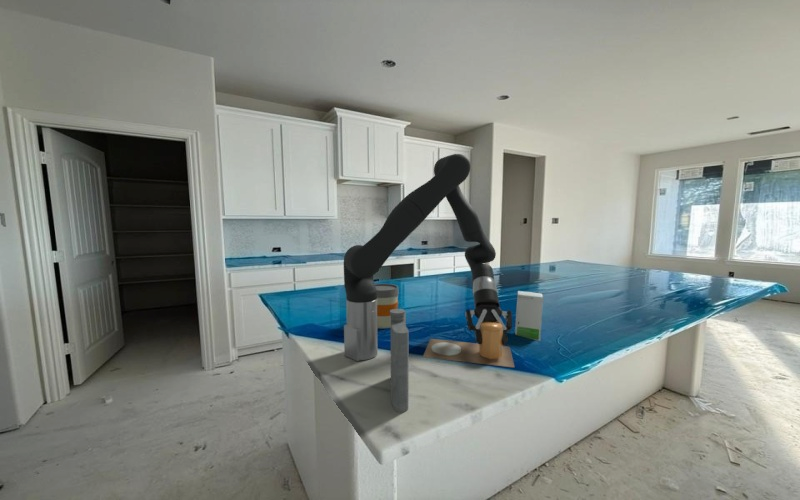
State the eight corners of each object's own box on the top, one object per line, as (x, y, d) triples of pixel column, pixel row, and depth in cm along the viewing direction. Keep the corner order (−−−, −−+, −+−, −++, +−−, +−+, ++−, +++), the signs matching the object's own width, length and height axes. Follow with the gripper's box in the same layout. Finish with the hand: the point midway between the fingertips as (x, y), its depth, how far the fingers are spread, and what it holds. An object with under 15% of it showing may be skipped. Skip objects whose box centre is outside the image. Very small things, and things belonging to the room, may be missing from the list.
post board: (509, 351, 95) (510, 331, 94) (514, 372, 82) (515, 349, 81) (430, 343, 101) (430, 324, 101) (422, 361, 88) (422, 340, 87)
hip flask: (408, 412, 65) (409, 321, 63) (389, 412, 65) (389, 321, 63) (405, 374, 81) (405, 301, 79) (389, 375, 81) (389, 301, 79)
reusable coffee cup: (398, 330, 113) (398, 290, 112) (365, 330, 113) (364, 290, 112) (399, 319, 126) (399, 283, 124) (368, 319, 126) (368, 283, 124)
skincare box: (514, 338, 106) (516, 294, 104) (515, 332, 112) (516, 290, 110) (541, 342, 102) (543, 296, 101) (540, 335, 109) (542, 292, 107)
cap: (495, 360, 85) (496, 329, 85) (476, 354, 89) (477, 324, 89) (504, 353, 90) (505, 324, 89) (485, 348, 94) (486, 319, 93)
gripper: (464, 287, 96) (468, 337, 85) (510, 288, 95) (521, 339, 84) (461, 299, 102) (465, 348, 91) (505, 300, 101) (514, 349, 90)
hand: (492, 343), depth 88 cm, fingers closed on cap, 6 cm apart
